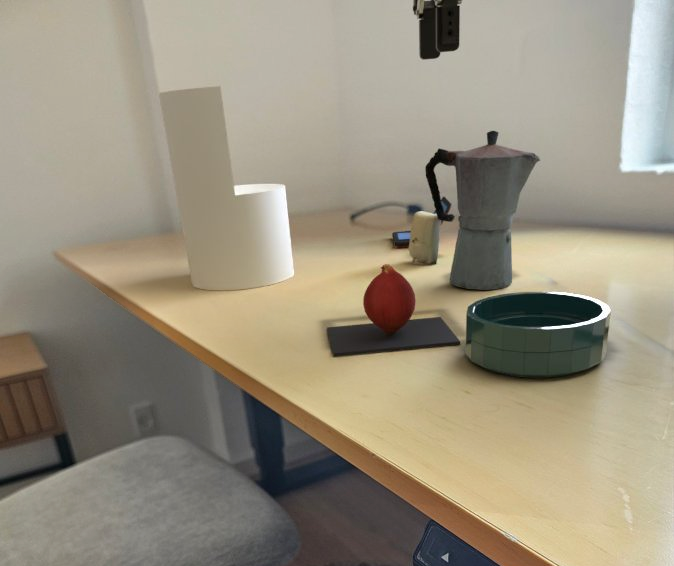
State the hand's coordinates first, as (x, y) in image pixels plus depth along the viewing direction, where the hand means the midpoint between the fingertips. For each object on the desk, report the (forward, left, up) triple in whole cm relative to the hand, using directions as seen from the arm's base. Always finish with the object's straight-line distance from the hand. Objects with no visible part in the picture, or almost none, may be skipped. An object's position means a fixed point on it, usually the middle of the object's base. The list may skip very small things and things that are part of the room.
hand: (438, 55), depth 69 cm
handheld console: (-8, -53, -28) cm, 61 cm away
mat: (+7, +6, -28) cm, 30 cm away
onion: (+7, +6, -28) cm, 29 cm away
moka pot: (-9, -15, -28) cm, 33 cm away
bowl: (-6, +17, -28) cm, 33 cm away
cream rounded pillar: (-5, -33, -28) cm, 44 cm away
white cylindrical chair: (+26, -34, -28) cm, 51 cm away
